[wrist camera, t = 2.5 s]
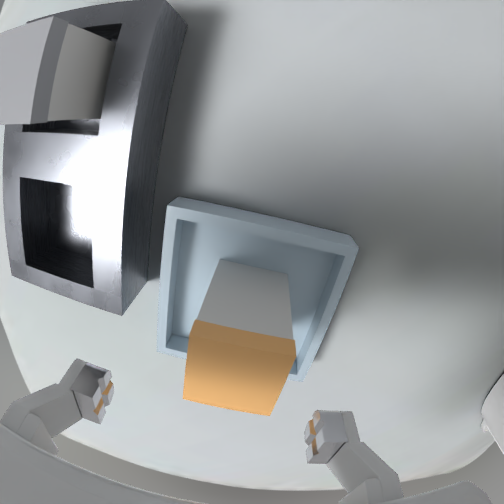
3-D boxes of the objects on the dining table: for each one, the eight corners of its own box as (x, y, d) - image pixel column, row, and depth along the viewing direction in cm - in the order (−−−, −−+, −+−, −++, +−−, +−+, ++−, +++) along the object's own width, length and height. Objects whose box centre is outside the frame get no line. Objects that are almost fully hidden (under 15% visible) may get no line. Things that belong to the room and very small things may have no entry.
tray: (349, 235, 17) (359, 248, 15) (301, 362, 20) (302, 381, 19) (178, 196, 16) (167, 205, 14) (165, 333, 20) (156, 351, 18)
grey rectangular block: (132, 49, 12) (53, 16, 6) (118, 119, 14) (30, 123, 7) (75, 53, 12) (-8, 36, 6) (63, 117, 14) (-25, 126, 7)
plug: (288, 273, 17) (296, 356, 11) (271, 328, 19) (269, 416, 12) (218, 258, 17) (189, 334, 11) (208, 315, 19) (182, 398, 12)
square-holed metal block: (64, 33, 12) (26, 22, 8) (187, 25, 12) (164, -2, 9) (44, 251, 18) (11, 275, 15) (147, 281, 19) (122, 315, 15)
